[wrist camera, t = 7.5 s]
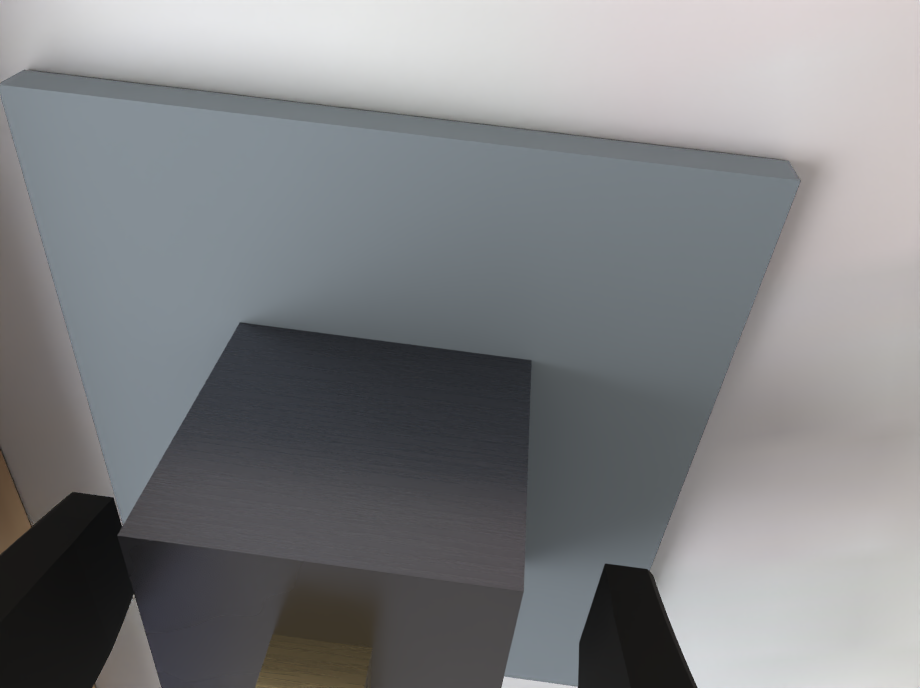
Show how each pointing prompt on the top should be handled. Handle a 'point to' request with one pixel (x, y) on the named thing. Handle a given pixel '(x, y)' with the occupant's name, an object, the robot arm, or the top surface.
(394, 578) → the lever cap
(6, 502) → the hand plane
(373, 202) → the slate mat
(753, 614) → the top surface
